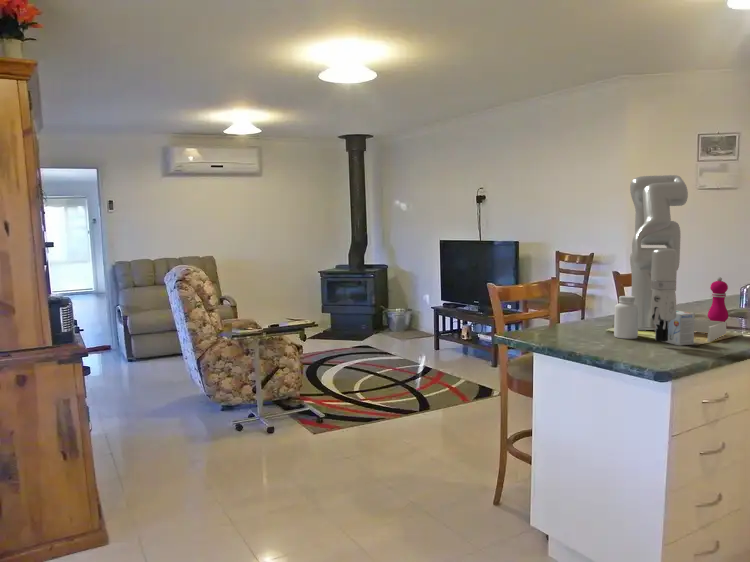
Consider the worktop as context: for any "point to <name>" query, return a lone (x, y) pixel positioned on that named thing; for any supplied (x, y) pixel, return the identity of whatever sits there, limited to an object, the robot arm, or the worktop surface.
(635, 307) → the pill bottle
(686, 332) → the light bulb box
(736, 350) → the worktop surface
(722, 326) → the cream bay
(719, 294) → the pepper mill
